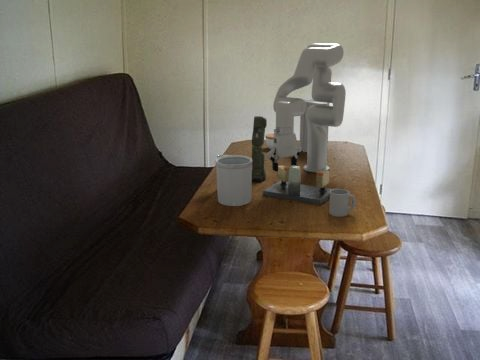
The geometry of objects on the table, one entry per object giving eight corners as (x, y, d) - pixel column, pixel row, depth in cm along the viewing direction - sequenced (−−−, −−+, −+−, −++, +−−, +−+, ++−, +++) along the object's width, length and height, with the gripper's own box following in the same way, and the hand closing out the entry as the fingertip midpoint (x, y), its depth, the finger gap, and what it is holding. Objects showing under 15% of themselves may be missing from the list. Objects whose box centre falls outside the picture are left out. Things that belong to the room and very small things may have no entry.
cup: (327, 210, 218) (328, 188, 215) (353, 210, 218) (355, 188, 215) (330, 217, 211) (331, 194, 208) (357, 217, 211) (358, 194, 208)
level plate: (279, 185, 250) (279, 156, 246) (334, 193, 238) (336, 163, 234) (262, 195, 237) (263, 164, 233) (320, 204, 224) (322, 172, 221)
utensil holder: (240, 209, 220) (239, 166, 215) (209, 203, 228) (208, 161, 223) (259, 199, 232) (259, 157, 227) (229, 193, 240) (228, 153, 235)
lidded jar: (275, 152, 310) (275, 135, 307) (261, 148, 317) (261, 132, 314) (288, 148, 317) (288, 132, 314) (274, 145, 324) (274, 129, 321)
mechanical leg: (262, 183, 250) (265, 115, 249) (246, 182, 252) (249, 115, 250) (267, 181, 264) (270, 117, 262) (252, 181, 265) (254, 117, 263)
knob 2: (323, 186, 240) (323, 167, 237) (329, 187, 238) (329, 168, 236) (316, 191, 233) (316, 172, 231) (322, 192, 232) (322, 173, 229)
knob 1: (276, 181, 247) (277, 163, 245) (282, 180, 248) (282, 162, 246) (284, 186, 240) (285, 167, 238) (290, 185, 241) (290, 167, 239)
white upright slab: (301, 146, 322) (302, 97, 314) (327, 147, 319) (329, 98, 310) (297, 154, 304) (298, 102, 296) (325, 155, 301) (327, 103, 293)
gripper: (272, 134, 230) (272, 174, 236) (306, 129, 239) (305, 167, 244) (262, 131, 236) (263, 170, 242) (296, 126, 245) (295, 163, 250)
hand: (284, 168), depth 243 cm, fingers open, 9 cm apart
